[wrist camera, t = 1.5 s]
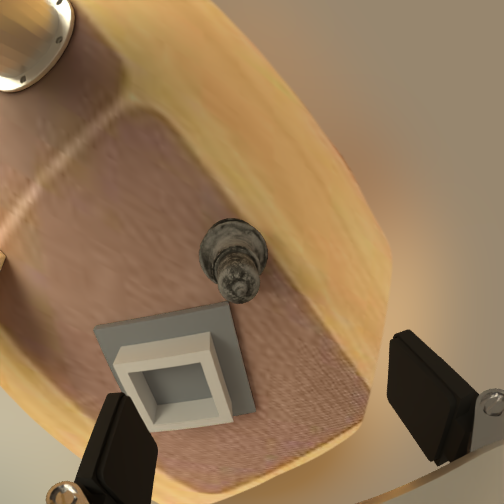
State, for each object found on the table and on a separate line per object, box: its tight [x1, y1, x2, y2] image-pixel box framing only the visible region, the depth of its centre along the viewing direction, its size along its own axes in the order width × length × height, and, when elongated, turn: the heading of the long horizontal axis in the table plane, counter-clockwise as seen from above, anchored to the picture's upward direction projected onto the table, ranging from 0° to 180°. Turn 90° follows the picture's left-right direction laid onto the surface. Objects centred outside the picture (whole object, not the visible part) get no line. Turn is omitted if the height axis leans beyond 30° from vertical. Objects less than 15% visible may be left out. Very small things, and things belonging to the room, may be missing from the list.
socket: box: [93, 301, 256, 432], centre depth 31 cm, size 15×15×4 cm
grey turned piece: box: [199, 218, 268, 304], centre depth 25 cm, size 6×6×12 cm
